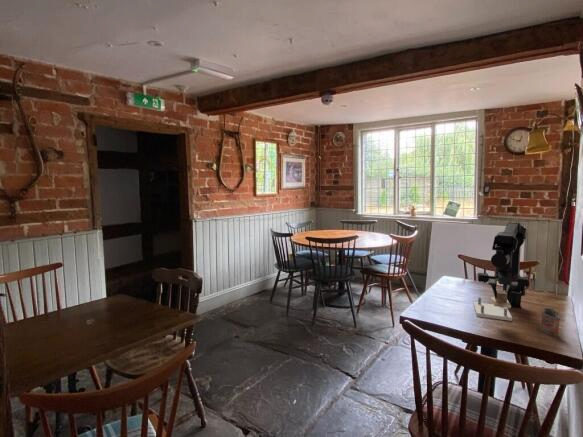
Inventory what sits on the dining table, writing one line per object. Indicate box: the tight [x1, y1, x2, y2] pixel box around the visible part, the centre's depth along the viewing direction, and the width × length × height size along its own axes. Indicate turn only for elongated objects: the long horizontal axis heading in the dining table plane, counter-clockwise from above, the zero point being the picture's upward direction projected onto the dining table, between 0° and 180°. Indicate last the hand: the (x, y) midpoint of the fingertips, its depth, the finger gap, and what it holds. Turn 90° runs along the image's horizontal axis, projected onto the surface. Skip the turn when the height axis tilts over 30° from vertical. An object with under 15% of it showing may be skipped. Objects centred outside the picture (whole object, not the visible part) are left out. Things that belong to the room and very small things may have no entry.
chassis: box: [473, 297, 513, 322], centre depth 167 cm, size 14×16×4 cm
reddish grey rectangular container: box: [539, 306, 561, 337], centre depth 145 cm, size 8×3×10 cm, turn 5°
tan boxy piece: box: [490, 289, 512, 309], centre depth 151 cm, size 6×9×5 cm, turn 159°
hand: (500, 298), depth 151 cm, fingers closed on tan boxy piece, 4 cm apart
